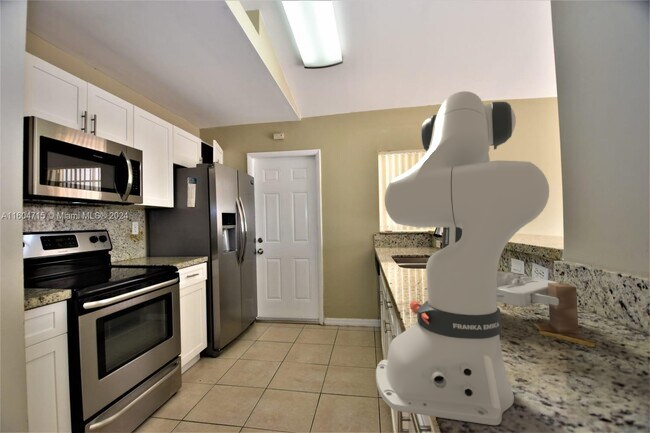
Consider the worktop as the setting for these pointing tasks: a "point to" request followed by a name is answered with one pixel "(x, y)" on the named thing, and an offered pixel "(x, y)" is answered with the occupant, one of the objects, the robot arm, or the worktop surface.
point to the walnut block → (563, 308)
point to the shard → (563, 335)
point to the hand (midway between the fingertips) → (566, 298)
